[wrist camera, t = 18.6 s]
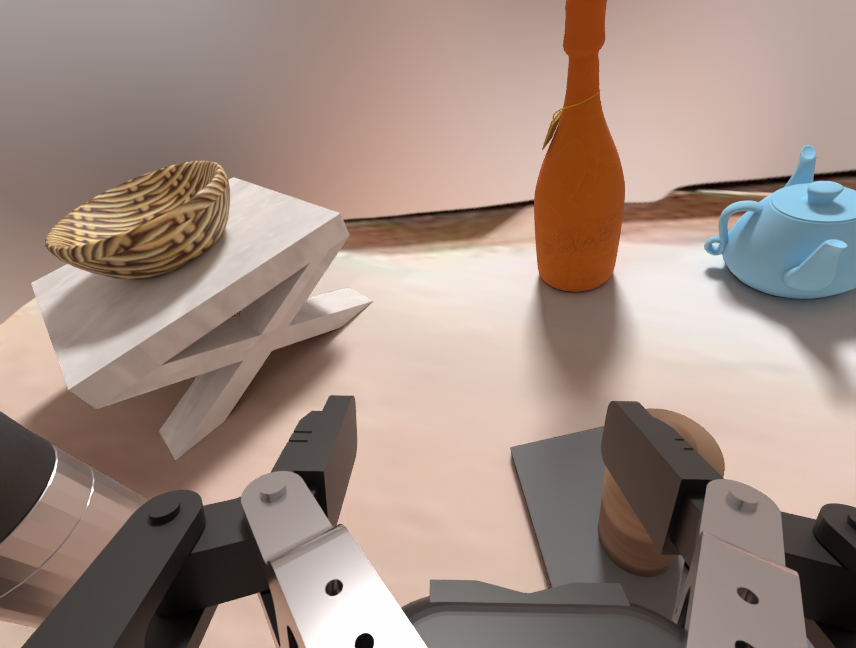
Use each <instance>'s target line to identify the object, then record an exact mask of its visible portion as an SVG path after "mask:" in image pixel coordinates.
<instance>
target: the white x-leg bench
mask: <svg viewBox="0 0 856 648" xmlns="http://www.w3.org/2000/svg"><path fill="white" fill-rule="evenodd" d="M348 237H349V233H348V231H347V228H346V226H345V223H344V221H343V219H342V216H341V214H340V213H338V212H335V211H332V210H329V209H326V208H323V207H320V206H317V205H314V204H311V203H308V202H305V201H302V200H299V199H296V198H293V197H290V196H287V195H284V194H281V193H279V192H276V191H272V190H270V189H267V188H264V187H261V186H258V185H255V184H252V183H249V182H246V181H243V180H240V179H237V178H234V177H233V178H231V179H229V180H228V178H227V176H226V174H225V172H224V170H223V168H222V167H221V166H220V165H219V164H217V163H215V162H210V161H193V162H186V163H181V164H177V165H173V166H170V167H166V168H162V169H159V170H156V171H153V172H150V173H147V174H144V175H142V176H139V177H137V178H134V179H132V180H130V181H127V182H125V183H123V184H120V185H118V186H116V187H114V188H112V189H110V190H108V191H106V192H104V193H102V194H100V195H98V196H97V197H95V198H93V199H91V200H89V201H88V202H86V203H85V204H83V205H81V206H80V207H78V208H76V209H75V210H74V211H72V212H71V213H70V214H68V215H67V216H65V217H64V218H63V219H62V220H61V221H60V222H58V223H57V224H56V225H55V226H54V227H53V228H52V230H51V231H50V232H49V234H48V236H47V238H46V240H45V245H46V247H47V249H48V250H49V251H50V252H51V253H52V254H53V255H55V256H56V257H57V258H59V259H60V260H62V261H63V262H65V263H67V265H65V266H63V267H61V268H59V269H57V270H55V271H53V272H51V273H49V274H48V275H46V276H44V277H42V278H40V279H38V280H36V281H34V282H32V283H31V284H32V287H33V290H34V293H35V295H36V298H37V301H38V304H39V307H40V310H41V313H42V316H43V319H44V321H45V324H46V327H47V330H48V333H49V336H50V339H51V342H52V345H53V347H54V350H55V353H56V356H57V359H58V362H59V365H60V368H61V371H62V373H63V376H64V379H65V382H66V385H67V388H68V390H69V391H70V392H72V393H73V394H75V395H76V396H77V397H79V398H80V399H82V400H83V401H85V402H86V403H87V404H89V405H90V406H92V407H93V408H94V409H96V410H97V409H100V408H103V407H106V406H109V405H112V404H115V403H118V402H121V401H124V400H127V399H130V398H133V397H136V396H139V395H142V394H145V393H147V392H150V391H153V390H156V389H159V388H162V387H165V386H168V385H171V384H174V383H177V382H180V381H183V380H186V379H189V378H192V377H195V376H197V377H196V378H195V380H194V381H193V382H192V384H191V385H190V387H189V388H188V390H187V391H186V393H185V394H184V396H183V397H182V398H181V400H180V401H179V403H178V404H177V406H176V407H175V409H174V410H173V411H172V413H171V414H170V416H169V417H168V419H167V420H166V422H165V423H164V424H163V426H162V427H161V429H160V430H159V432H160V434H161V436H162V438H163V440H164V441H165V443H166V445H167V447H168V448H169V450H170V452H171V454H172V455H173V457H174V459H175V461H176V460H177V459H178V458H179V457H181V456H182V455H183V454H184V453H186V452H187V451H188V450H189V449H191V448H192V447H193V446H194V445H196V444H197V443H198V442H199V441H201V440H202V439H203V438H204V437H205V436H207V435H208V434H209V433H210V432H212V431H213V430H214V429H215V428H217V427H218V426H219V425H220V424H222V423H223V422H224V421H225V420H226V418H227V417H228V415H229V414H230V413H231V411H232V410H233V408H234V407H235V405H236V404H237V402H238V401H239V399H240V398H241V396H242V395H243V393H244V392H245V390H246V389H247V387H248V386H249V384H250V383H251V381H252V380H253V378H254V377H255V375H256V374H257V372H258V371H259V369H260V368H261V366H262V365H263V363H264V362H265V360H266V359H267V357H268V356H269V354H270V353H271V351H272V350H275V349H278V348H281V347H284V346H287V345H290V344H293V343H296V342H299V341H302V340H305V339H308V338H311V337H314V336H317V335H320V334H323V333H326V332H329V331H332V330H335V329H338V328H341V327H342V326H343V325H344V324H346V323H347V322H348V321H349V320H351V319H352V318H353V317H354V316H356V315H357V314H358V313H359V312H361V311H362V310H363V309H364V308H366V307H367V306H368V305H369V304H371V303H372V302H373V300H371V299H370V298H368V297H366V296H364V295H362V294H360V293H358V292H356V291H354V290H352V289H350V288H344V289H341V290H337V291H333V292H329V293H325V294H321V295H318V296H314V297H310V298H308V296H309V295H310V293H311V292H312V290H313V289H314V287H315V286H316V285H317V283H318V282H319V280H320V279H321V277H322V276H323V274H324V273H325V271H326V270H327V268H328V267H329V265H330V264H331V262H332V261H333V259H334V258H335V256H336V255H337V253H338V252H339V250H340V249H341V247H342V246H343V244H344V243H345V241H346V240H347V238H348ZM243 308H244V309H243ZM242 309H243V310H242ZM240 310H242V312H241V313H240V314H239V316H238V317H234V318H230V317H232V316H233V315H235V314H236V313H237V312H239V311H240ZM229 318H230V319H229Z"/></svg>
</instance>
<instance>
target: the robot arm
mask: <svg viewBox="0 0 856 648" xmlns="http://www.w3.org/2000/svg"><path fill="white" fill-rule="evenodd" d="M356 451H357V425H356V406H355V398H354V396H334V395H331V396H329V398H328V400H327V402H326V404H325V406H324V408H323V410H322V411H311V412H310V413H309V414H307V415H306V416H305V417H303V418H302V419H301V420H300V421H299V423H298V425H297V426H296V428H295V430H294V433H292V435H291V437H290V439H289V442H287V444H286V446H285V448H284V449H283V451H282V453H281V455H280V457H279V458H278V460H277V462H276V464H275V465H274V467H273V469H272V471H271V473H268V474H265V475H263V476H260V477H259V478H257V479H255V480H254V481H252V482H251V483H250V484H249V485H248V486H247V487H246V488H245V489H244V491H243V493H242V496H241V497H239V498H236V499H232V500H228V501H223V502H219V503H214V504H209V505H205V506H203V503H202V499H201V497H200V496H199V494H197V493H196V492H193V491H189V490H177V491H172V492H168V493H165V494H162V495H159V496H157V497H155V498H153V499H151V500H148V499H146V498H145V497H143V496H141V495H140V494H138V493H136V492H134V491H133V490H131V489H129V488H128V487H126V486H124V485H122V484H121V483H119V482H117V481H115V480H114V479H112V478H110V477H109V476H107V475H105V474H103V473H102V472H100V471H98V470H97V469H95V468H93V467H91V466H90V465H88V464H86V463H84V462H82V461H81V460H79V459H77V458H75V457H74V456H72V455H70V454H69V453H67V452H65V451H63V450H62V449H60V448H58V447H57V446H55V445H53V444H51V443H49V442H48V441H47V440H45V439H43V438H41V437H40V436H38V435H36V434H34V433H33V432H31V431H29V430H28V429H26V428H25V427H23V426H22V425H20V424H19V423H17V422H16V421H14V420H12V419H11V418H9V417H8V416H7V415H5V414H4V413H2V412H0V620H1V621H6V622H10V623H15V624H20V625H24V626H29V627H34V628H37V629H36V631H35V632H34V633H33V634H32V635H31V637H30V638H29V639H28V640H27V641H26V643H25V644H24V645H23V646H22V647H21V648H199V646H200V644H201V641H202V639H203V637H204V635H205V632H206V630H207V628H208V626H209V624H210V621H211V619H212V617H213V615H214V612H215V610H216V608H217V606H218V604H221V603H224V602H228V601H231V600H235V599H238V598H242V597H245V596H249V595H252V594H255V593H257V594H258V597H259V600H260V603H261V606H262V608H263V611H264V614H265V617H266V620H267V623H268V626H269V628H270V631H271V634H272V637H273V640H274V643H275V646H276V648H808V647H807V638H808V640H809V641H810V642H811V644H812V645H813V646H814V647H815V648H856V508H855V507H852V506H848V505H843V504H826V505H824V506H823V507H822V508H821V510H820V512H819V515H818V517H817V519H816V520H815V519H811V518H806V517H802V516H798V515H793V514H789V513H785V512H780V510H779V508H778V506H777V505H776V504H775V503H774V502H773V501H772V500H771V499H770V498H769V497H767V496H766V495H765V494H763V493H762V492H760V491H758V490H756V489H755V488H752V487H750V486H748V485H746V484H743V483H740V482H737V481H733V480H727V479H724V478H723V477H722V476H721V475H720V474H719V473H718V472H717V471H716V470H715V469H714V468H713V467H712V466H711V465H710V464H709V463H708V462H707V461H706V460H705V459H704V458H703V457H702V456H701V455H700V454H699V453H698V452H697V451H694V450H693V447H692V446H691V445H690V444H689V443H688V442H687V441H684V438H683V437H682V436H681V435H680V434H679V433H678V432H677V431H676V430H675V429H674V428H673V427H671V426H669V425H668V424H666V423H664V422H663V421H661V420H659V419H658V418H654V417H653V416H652V415H651V414H650V413H649V412H648V411H647V410H646V409H645V408H644V407H643V406H642V405H641V404H640V403H639V402H636V401H612V402H610V404H609V406H608V409H607V415H606V420H605V425H604V431H603V436H602V441H601V454H602V459H603V461H604V464H605V466H606V467H607V469H608V470H609V472H610V474H611V475H612V477H613V478H614V480H615V482H616V483H617V485H618V486H619V488H620V490H621V491H622V493H623V495H624V496H625V498H626V499H627V501H628V503H629V504H630V506H631V507H632V509H633V511H634V512H635V514H636V515H637V517H638V519H639V520H640V522H641V524H642V525H643V527H644V528H645V530H646V532H647V533H648V535H649V536H650V538H651V540H652V541H653V543H654V544H655V546H656V548H657V549H658V551H659V553H660V554H661V555H681V556H682V557H683V559H684V563H683V567H682V570H681V575H680V580H679V585H678V590H677V596H676V601H675V606H674V612H673V617H672V621H671V620H669V619H668V618H666V617H664V616H662V615H661V614H659V613H657V612H655V611H653V610H650V609H648V608H646V607H643V606H641V605H638V604H635V603H632V602H629V601H628V599H627V597H626V595H625V593H624V591H623V589H622V587H621V584H620V583H577V582H573V583H569V584H565V585H561V586H557V587H553V588H550V589H546V590H542V591H538V592H534V593H522V592H518V591H514V590H511V589H507V588H503V587H499V586H495V585H492V584H488V583H484V582H480V581H474V580H430V596H429V597H425V598H421V599H418V600H416V601H413V602H411V603H409V604H407V605H405V606H403V607H402V608H400V607H399V605H398V604H397V602H396V601H395V599H394V598H393V596H392V595H391V593H390V592H389V590H388V589H387V587H386V586H385V584H384V583H383V581H382V580H381V578H380V577H379V575H378V574H377V572H376V571H375V569H374V568H373V566H372V565H371V563H370V562H369V560H368V559H367V558H366V556H365V555H364V553H363V552H362V550H361V549H360V547H359V546H358V544H357V543H356V541H355V540H354V538H353V537H352V535H351V534H350V532H349V531H348V529H347V528H346V527H345V526H344V525H343V524H339V525H337V522H338V519H339V515H340V511H341V508H342V504H343V501H344V497H345V494H346V490H347V486H348V483H349V479H350V476H351V472H352V469H353V465H354V461H355V458H356ZM806 637H807V638H806Z"/></svg>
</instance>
